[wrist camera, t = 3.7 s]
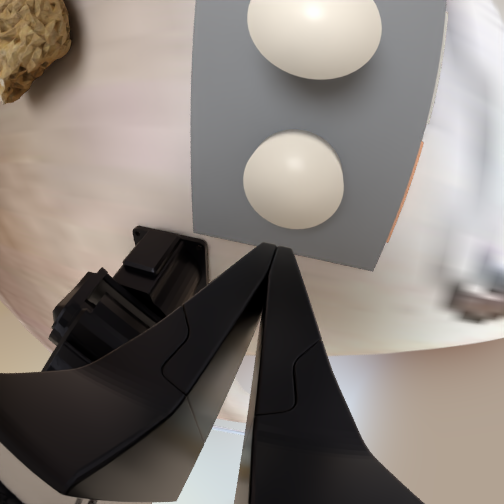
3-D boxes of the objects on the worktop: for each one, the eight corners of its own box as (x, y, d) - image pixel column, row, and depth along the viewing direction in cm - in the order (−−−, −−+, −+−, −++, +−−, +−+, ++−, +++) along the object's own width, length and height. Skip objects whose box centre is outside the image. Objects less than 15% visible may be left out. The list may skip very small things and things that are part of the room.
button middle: (359, 84, 11) (371, 92, 8) (265, 67, 11) (242, 70, 8) (370, 2, 8) (386, -19, 5) (273, -13, 9) (252, -38, 6)
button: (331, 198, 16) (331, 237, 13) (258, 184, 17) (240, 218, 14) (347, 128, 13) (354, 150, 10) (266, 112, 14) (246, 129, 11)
